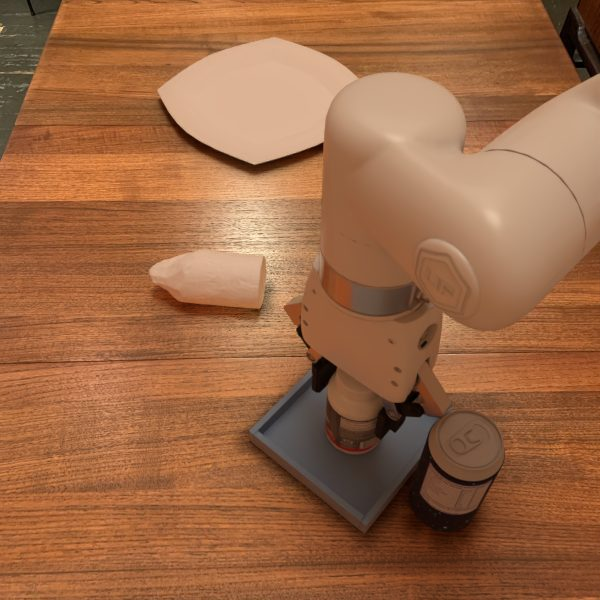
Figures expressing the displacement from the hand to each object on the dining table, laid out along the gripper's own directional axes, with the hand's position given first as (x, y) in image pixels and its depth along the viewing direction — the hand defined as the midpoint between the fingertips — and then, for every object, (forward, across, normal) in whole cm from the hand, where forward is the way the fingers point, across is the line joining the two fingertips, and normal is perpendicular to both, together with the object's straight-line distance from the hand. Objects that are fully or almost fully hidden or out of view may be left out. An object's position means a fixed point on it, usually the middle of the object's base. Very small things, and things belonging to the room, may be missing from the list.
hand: (356, 402), depth 57 cm
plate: (+6, +41, -33) cm, 53 cm away
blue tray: (+5, 0, 0) cm, 5 cm away
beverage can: (+5, -10, 0) cm, 11 cm away
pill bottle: (+5, 0, 0) cm, 5 cm away
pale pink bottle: (+5, +22, -3) cm, 23 cm away
